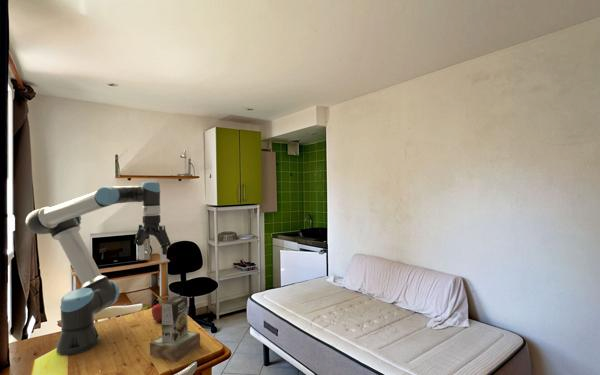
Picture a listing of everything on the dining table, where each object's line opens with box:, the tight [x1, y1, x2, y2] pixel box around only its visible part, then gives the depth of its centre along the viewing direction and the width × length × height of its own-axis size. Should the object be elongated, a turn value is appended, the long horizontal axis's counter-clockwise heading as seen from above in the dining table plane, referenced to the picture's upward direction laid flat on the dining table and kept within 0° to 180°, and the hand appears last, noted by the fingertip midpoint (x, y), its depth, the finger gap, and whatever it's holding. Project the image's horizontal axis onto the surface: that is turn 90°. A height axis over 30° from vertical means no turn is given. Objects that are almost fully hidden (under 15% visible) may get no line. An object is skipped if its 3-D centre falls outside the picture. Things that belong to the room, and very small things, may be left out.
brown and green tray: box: [149, 330, 201, 362], centre depth 135 cm, size 14×14×5 cm
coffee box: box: [161, 295, 188, 343], centre depth 134 cm, size 9×6×16 cm
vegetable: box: [151, 298, 163, 322], centre depth 164 cm, size 11×10×10 cm
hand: (152, 260), depth 148 cm, fingers open, 13 cm apart
